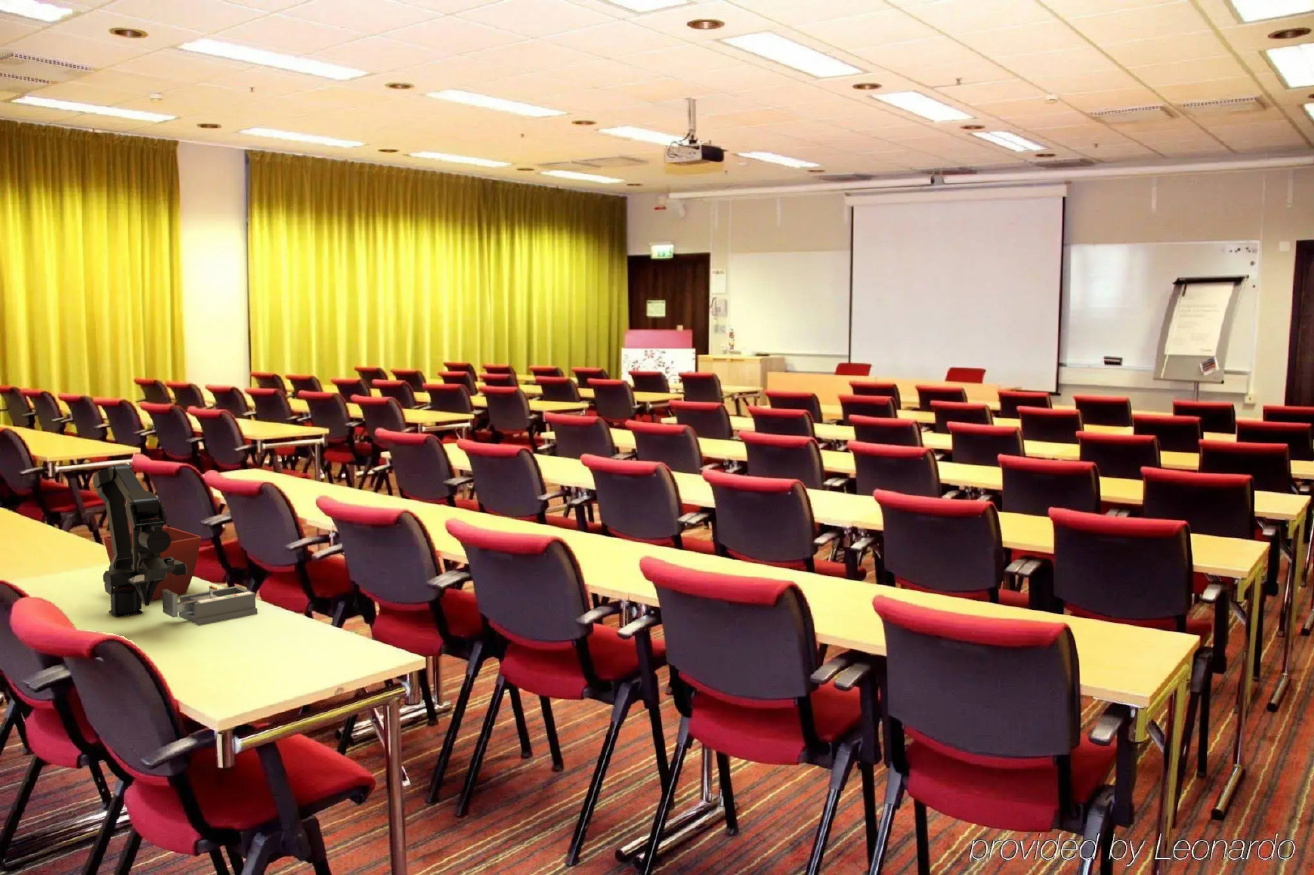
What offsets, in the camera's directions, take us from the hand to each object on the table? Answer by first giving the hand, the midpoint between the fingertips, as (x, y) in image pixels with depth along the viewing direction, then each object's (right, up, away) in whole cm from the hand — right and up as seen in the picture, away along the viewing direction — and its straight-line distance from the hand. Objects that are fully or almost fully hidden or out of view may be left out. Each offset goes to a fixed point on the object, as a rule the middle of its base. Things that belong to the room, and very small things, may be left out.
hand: (146, 605), depth 266 cm
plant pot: (-13, -2, +32) cm, 35 cm away
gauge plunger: (+9, -3, +8) cm, 13 cm away
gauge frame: (+12, -5, +14) cm, 19 cm away
